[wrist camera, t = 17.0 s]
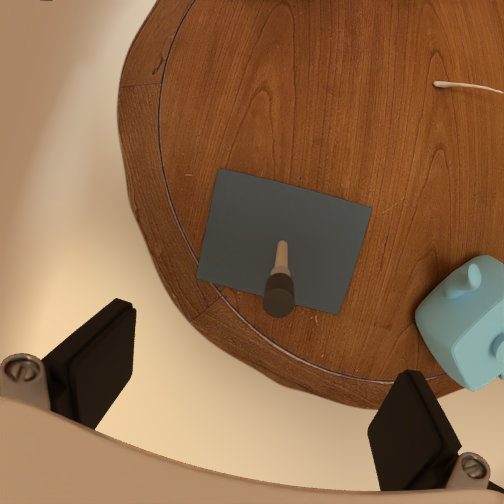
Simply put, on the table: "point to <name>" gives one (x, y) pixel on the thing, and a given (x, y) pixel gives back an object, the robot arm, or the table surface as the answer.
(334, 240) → the mat
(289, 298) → the brush
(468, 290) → the teapot
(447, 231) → the table surface
